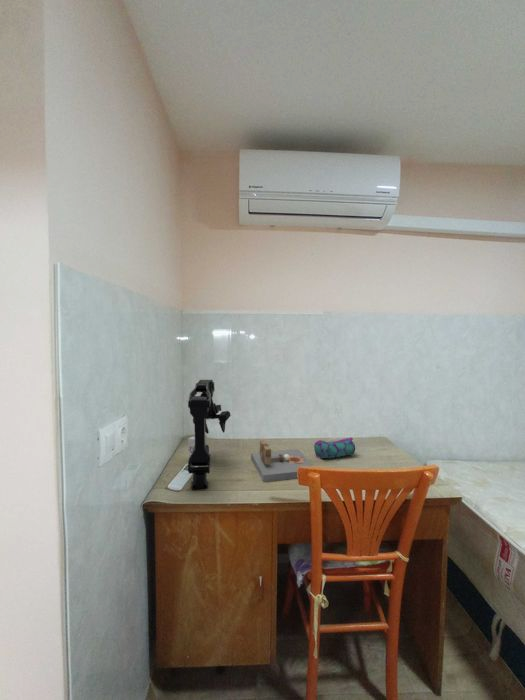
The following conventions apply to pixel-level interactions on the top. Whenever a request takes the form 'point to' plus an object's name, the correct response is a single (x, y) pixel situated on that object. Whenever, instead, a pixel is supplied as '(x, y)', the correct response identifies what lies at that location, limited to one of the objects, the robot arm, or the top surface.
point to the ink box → (191, 445)
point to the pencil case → (334, 448)
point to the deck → (280, 465)
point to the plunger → (268, 454)
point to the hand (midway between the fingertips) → (215, 432)
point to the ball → (286, 457)
